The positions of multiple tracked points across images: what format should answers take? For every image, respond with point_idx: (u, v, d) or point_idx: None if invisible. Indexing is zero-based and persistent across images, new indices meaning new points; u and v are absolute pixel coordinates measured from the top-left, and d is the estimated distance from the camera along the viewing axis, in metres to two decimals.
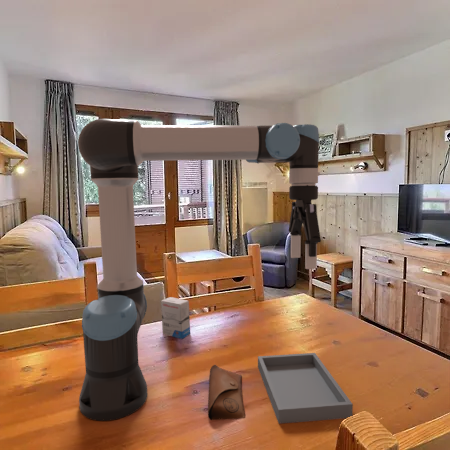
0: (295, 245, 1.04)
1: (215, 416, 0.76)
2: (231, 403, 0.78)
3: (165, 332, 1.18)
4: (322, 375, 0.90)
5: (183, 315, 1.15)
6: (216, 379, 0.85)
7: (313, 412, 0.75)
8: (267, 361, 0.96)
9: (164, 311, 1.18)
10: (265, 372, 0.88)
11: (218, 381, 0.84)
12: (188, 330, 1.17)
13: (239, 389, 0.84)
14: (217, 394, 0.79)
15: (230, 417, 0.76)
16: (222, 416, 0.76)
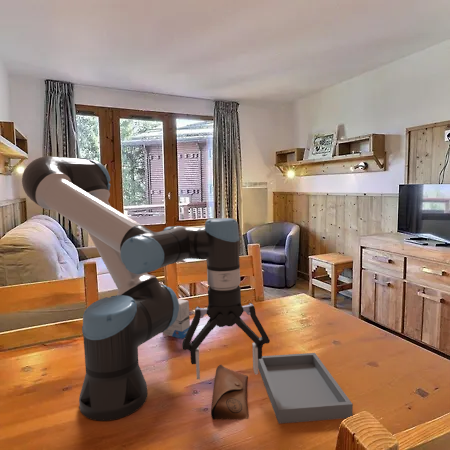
0: (253, 356, 0.84)
1: (218, 416, 0.76)
2: (234, 403, 0.78)
3: (165, 332, 1.18)
4: (322, 375, 0.90)
5: (183, 315, 1.15)
6: (221, 379, 0.85)
7: (313, 412, 0.75)
8: (267, 361, 0.96)
9: None
10: (265, 372, 0.88)
11: (223, 381, 0.84)
12: None
13: (244, 390, 0.84)
14: (220, 394, 0.79)
15: (233, 417, 0.76)
16: (224, 416, 0.76)
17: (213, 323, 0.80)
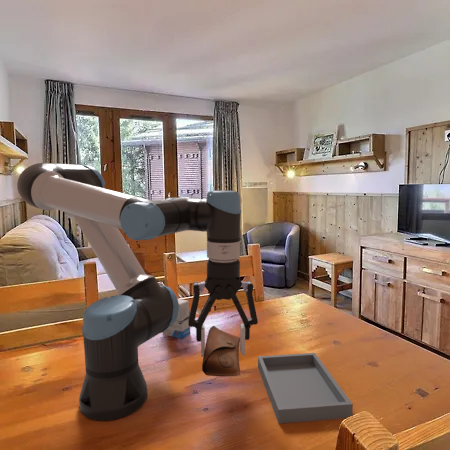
0: (240, 337, 0.84)
1: (209, 370, 0.75)
2: (226, 359, 0.77)
3: (165, 332, 1.18)
4: (322, 375, 0.90)
5: (183, 316, 1.15)
6: (213, 338, 0.84)
7: (313, 412, 0.75)
8: (267, 361, 0.96)
9: None
10: (265, 372, 0.88)
11: (215, 339, 0.83)
12: (188, 330, 1.17)
13: (236, 348, 0.83)
14: (212, 350, 0.78)
15: (224, 372, 0.75)
16: (216, 370, 0.75)
17: (213, 297, 0.80)
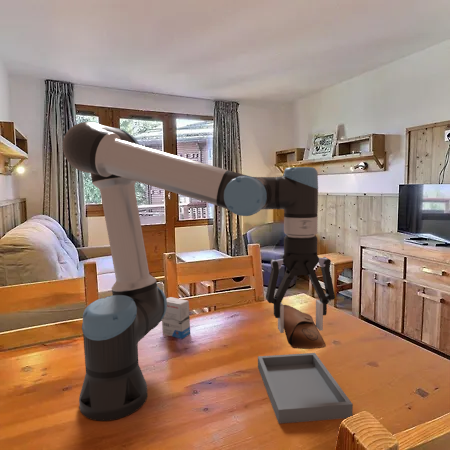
0: (317, 313, 0.85)
1: (295, 343, 0.76)
2: (310, 332, 0.78)
3: (165, 332, 1.18)
4: (322, 375, 0.90)
5: (183, 316, 1.15)
6: (290, 314, 0.85)
7: (313, 412, 0.75)
8: (267, 361, 0.96)
9: None
10: (265, 372, 0.88)
11: (293, 315, 0.83)
12: (188, 330, 1.17)
13: (314, 324, 0.84)
14: (295, 324, 0.78)
15: (310, 344, 0.76)
16: (302, 343, 0.76)
17: (292, 273, 0.81)
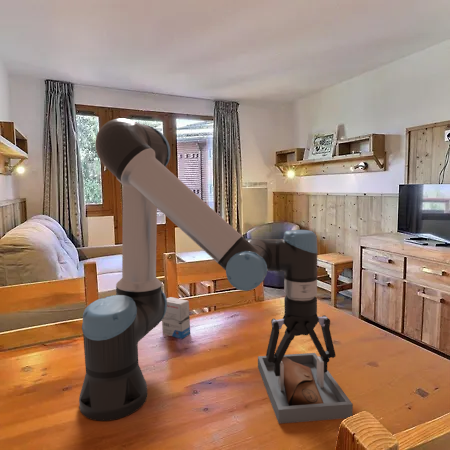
0: (318, 370, 0.86)
1: None
2: (309, 393, 0.80)
3: (165, 332, 1.18)
4: None
5: (183, 315, 1.15)
6: (290, 370, 0.86)
7: (313, 412, 0.75)
8: (267, 361, 0.96)
9: None
10: (265, 372, 0.88)
11: (293, 372, 0.85)
12: (188, 330, 1.17)
13: (313, 381, 0.85)
14: (295, 384, 0.80)
15: None
16: None
17: (292, 333, 0.83)
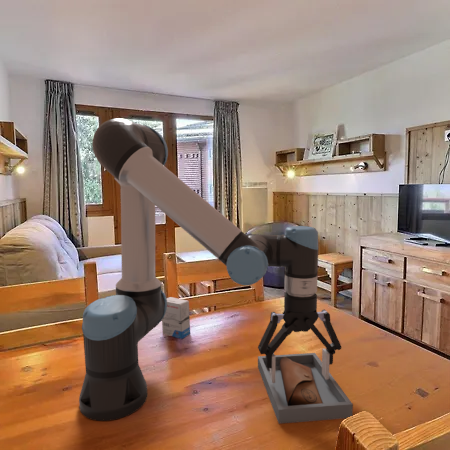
0: (323, 362, 0.86)
1: (294, 405, 0.77)
2: (309, 393, 0.79)
3: (165, 332, 1.18)
4: (322, 375, 0.90)
5: (183, 316, 1.15)
6: (290, 370, 0.86)
7: (313, 412, 0.75)
8: None
9: None
10: (265, 372, 0.88)
11: (292, 372, 0.85)
12: (188, 330, 1.17)
13: (313, 381, 0.85)
14: (295, 384, 0.80)
15: None
16: None
17: (290, 328, 0.83)
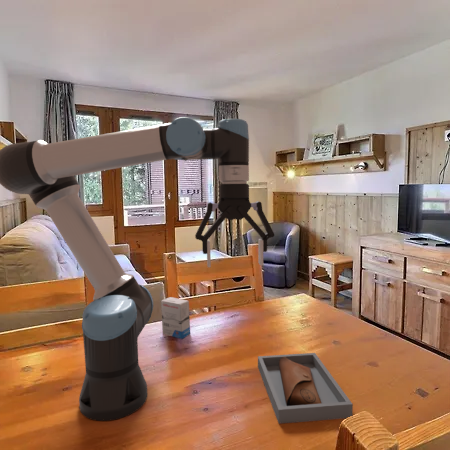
0: (259, 250, 0.93)
1: None
2: (308, 393, 0.79)
3: (165, 332, 1.18)
4: (322, 375, 0.90)
5: (183, 316, 1.15)
6: (289, 370, 0.86)
7: (313, 412, 0.75)
8: (267, 361, 0.96)
9: (164, 311, 1.18)
10: (265, 372, 0.88)
11: (291, 372, 0.85)
12: (188, 330, 1.17)
13: (312, 381, 0.85)
14: (293, 384, 0.80)
15: None
16: None
17: (224, 215, 0.89)
